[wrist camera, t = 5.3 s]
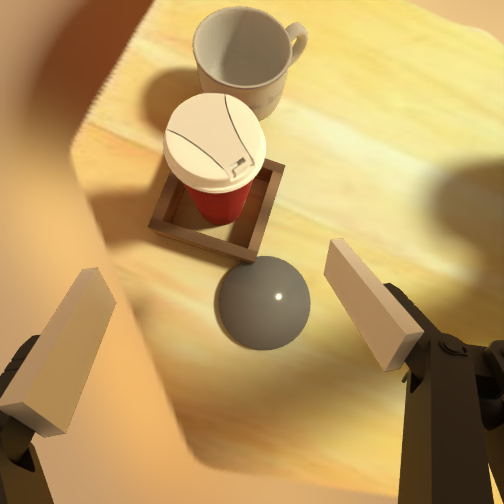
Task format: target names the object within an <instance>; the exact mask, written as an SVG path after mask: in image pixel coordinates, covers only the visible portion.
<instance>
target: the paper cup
mask: <svg viewBox="0 0 504 504" xmlns="http://www.w3.org/2000/svg"><path fill="white" fill-rule="evenodd" d="M163 151H164V155H165V159H166V161H167V164H168V166H169V167H170V169H171V170H172V172H173V173H174V174H175V175H176V177H177V178H178V179H179V180H181V181H182V182H183V183H184V185H185V187H186V189H187V190H188V192H189V194H190V196H191V197H192V199H193V201H194V203H195V204H196V206H197V208H198V209H199V211H200V212H201V214H202V215H203V217H204V218H205V219H206V220H208V221H209V222H211V223H213V224H216V225H226V224H230V223H232V222H233V221H235V220H236V219H237V218H238V217H239V215H240V214H241V212H242V210H243V207H244V205H245V202H246V199H247V196H248V193H249V191H250V188H251V185H252V182H253V179H254V177H255V176H256V175H257V174H258V172H259V170H260V169H261V167H262V165H263V162H264V159H265V154H266V143H265V137H264V134H263V131H262V129H261V127H260V124H259V122H258V120H257V118H256V116H255V115H254V113H253V112H252V110H251V109H250V108H249V107H248V106H247V105H246V104H244V103H243V102H242V101H240V100H238V99H237V98H235V97H232V96H230V95H227V94H219V93H204V94H199V95H196V96H193V97H191V98H189V99H187V100H186V101H184V102H183V103H181V104H180V105H179V106H178V107H177V108H176V109H175V111H174V112H173V113H172V115H171V118H170V120H169V122H168V125H167V128H166V131H165V134H164V139H163Z"/></svg>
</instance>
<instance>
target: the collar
mask: <svg viewBox="0 0 504 504" xmlns="http://www.w3.org/2000/svg"><path fill="white" fill-rule="evenodd" d="M284 168H285V165H283V164H280V163H277V162H274V161H271V160H268V159H266V158H265V159H264V162H263V165H262V167H261V169H260V170H259V172H258V174H257V175H256V176H255V177H256V178H259V179H262V180H265V181H268V182H269V184H268V187H267V190H266V193H265V196H264V199H263V202H262V205H261V208H260V211H259V215H258V218H257V221H256V224H255V227H254V230H253V233H252V236H251V239H250V242H249V245H248V248H244V247H241V246H238V245H235V244H232V243H229V242H226V241H223V240H220V239H217V238H214V237H211V236H208V235H205V234H202V233H199V232H196V231H193V230H190V229H187V228H184V227H180V226H177V225H174V224H171V221H172V219H173V216H174V214H175V211H176V208H177V206H178V203H179V201H180V198H181V196H182V193H183V191H184V188H185V185H184V183H183V182H182V181H181V180H179V179H178V178H177V177H176V175H175V174H174V173H173V172H172V170H171V172H170V174H169V177H168V179H167V181H166V184H165V186H164V189H163V191H162V194H161V196H160V198H159V201H158V203H157V206H156V208H155V211H154V213H153V215H152V218H151V220H150V223H149V225H148V228H150V229H151V230H152V231H153V232H155V233H156V234H159V235H162V236H165V237H168V238H172V239H175V240H178V241H181V242H184V243H187V244H190V245H193V246H196V247H199V248H202V249H205V250H208V251H211V252H215V253H218V254H221V255H224V256H227V257H230V258H233V259H236V260H239V261H242V262H243V261H244V262H247V263H250V264H254V262H255V260H256V257H257V254H258V251H259V247H260V244H261V241H262V238H263V235H264V232H265V228H266V225H267V222H268V219H269V216H270V213H271V209H272V206H273V203H274V200H275V197H276V193H277V190H278V187H279V184H280V181H281V178H282V174H283V171H284Z"/></svg>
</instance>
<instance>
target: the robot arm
mask: <svg viewBox="0 0 504 504" xmlns="http://www.w3.org/2000/svg"><path fill="white" fill-rule="evenodd" d="M324 276H325V277H326V279H327V281H328V282H329V284H330V285H331V287H332V289H333V290H334V292H335V294H336V295H337V297H338V298H339V300H340V302H341V303H342V305H343V306H344V308H345V310H346V311H347V313H348V315H349V316H350V318H351V319H352V321H353V323H354V324H355V326H356V327H357V329H358V331H359V332H360V334H361V336H362V337H363V339H364V340H365V342H366V344H367V345H368V347H369V348H370V350H371V352H372V353H373V355H374V357H375V358H376V360H377V361H378V363H379V365H380V366H381V368H382V369H383V371H384V372H386V371H391V370H397V369H400V368H401V366H402V365H403V363H404V362H405V363H406V364H407V365H408V367H409V370H408V371H407V373H406V374H405V376H404V377H403V379H402V382H403V383H405V381H406V380H407V387H406V401H405V414H404V428H403V441H402V454H401V468H400V481H399V495H398V504H494V500H493V493H492V486H491V480H490V473H489V466H490V469H491V472H492V474H493V477H494V480H495V482H496V485H497V488H498V490H499V493H500V496H501V498H502V501H503V504H504V341H503V340H496V341H494V342H492V343H491V344H490V345H489V346H488V347H482V346H475V345H467V344H465V343H463V342H462V341H461V340H459V339H458V338H456V337H454V336H452V335H449V334H445V333H441V332H440V331H439V330H438V329H437V328H436V327H435V326H434V325H433V324H432V323H431V322H430V321H429V319H428V318H427V317H426V316H425V315H424V314H423V313H422V312H421V311H420V310H419V309H418V308H417V307H416V306H414V304H413V302H412V301H411V300H410V299H408V297H407V296H406V295H405V294H404V293H403V292H402V291H401V290H400V289H399V288H397V287H396V286H394V285H392V284H391V283H386V284H382V283H381V281H380V280H379V279H378V278H377V277H376V276H375V275H374V273H373V272H372V271H371V270H370V269H369V268H368V267H367V265H366V264H365V263H364V262H363V261H362V260H361V259H360V258H359V256H358V255H357V254H356V253H355V252H354V251H353V250H352V248H351V247H350V246H349V245H348V244H347V243H346V242H345V240H344V239H343V238H340V239H332V240H330V245H329V250H328V255H327V260H326V265H325V270H324ZM115 305H116V301H115V299H114V298H113V295H112V293H111V291H110V290H109V288H108V286H107V284H106V282H105V280H104V278H103V277H102V275H101V273H100V271H99V269H98V267H97V268H89V269H82V271H81V272H80V274H79V275H78V277H77V278H76V280H75V282H74V283H73V285H72V286H71V288H70V290H69V291H68V293H67V294H66V296H65V298H64V299H63V301H62V302H61V304H60V305H59V307H58V308H57V310H56V312H55V313H54V315H53V316H52V318H51V320H50V321H49V323H48V324H47V326H46V327H45V329H44V331H43V332H42V334H41V335H34V336H32V337H31V338H30V339H28V340H27V341H26V342H25V343H24V344H23V345H22V346H21V347H20V348H19V349H18V351H17V352H16V354H15V355H14V357H13V358H12V361H11V362H10V363H9V364H8V365H7V367H6V369H5V370H4V373H2V374H1V376H0V504H54V503H53V499H52V497H51V494H50V491H49V488H48V485H47V482H46V479H45V476H44V473H43V470H42V467H41V465H40V462H39V459H38V456H37V453H36V450H35V447H34V446H33V444H32V443H31V442H30V441H31V440H32V437H33V435H34V433H35V432H36V433H37V434H39V435H41V436H42V437H50V436H55V435H60V434H65V433H66V432H67V429H68V426H69V424H70V421H71V419H72V416H73V413H74V411H75V408H76V406H77V403H78V401H79V398H80V395H81V393H82V390H83V387H84V385H85V382H86V380H87V377H88V374H89V372H90V370H91V367H92V364H93V362H94V359H95V357H96V354H97V351H98V349H99V346H100V344H101V341H102V338H103V336H104V333H105V331H106V328H107V326H108V323H109V320H110V318H111V315H112V312H113V310H114V307H115ZM488 464H489V466H488Z"/></svg>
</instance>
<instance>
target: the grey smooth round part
mask: <svg viewBox="0 0 504 504" xmlns="http://www.w3.org/2000/svg"><path fill="white" fill-rule="evenodd" d="M219 308H220V314H221V318H222V320H223V323H224V325H225V327H226V328H227V330H228V331H229V333H230V334H231V335H232V336H233V337H234V338H235V339H236V340H237V341H239V342H240V343H242V344H243V345H245V346H248V347H250V348H253V349H258V350H272V349H277V348H280V347H282V346H284V345H286V344H288V343H290V342H291V341H293V340H294V339H295V338H296V337H297V336H298V335H299V334H300V332H301V331H302V330H303V328H304V326H305V324H306V322H307V319H308V316H309V312H310V295H309V290H308V287H307V284H306V282H305V280H304V279H303V277H302V275H301V274H300V273H299V272H298V271H297V270H296V269H295V268H294V267H293V266H292V265H291V264H289V263H287V262H286V261H284V260H281V259H279V258H275V257H270V256H259V257H256V260H255V262H254V264H250V263H247V262H244V261H243V262H242V263H240V264H239V265H237V266H236V267H235V268H234V269H233V270H232V271H231V272H230V273H229V275H228V276H227V277H226V279H225V281H224V283H223V285H222V288H221V292H220V298H219Z"/></svg>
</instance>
